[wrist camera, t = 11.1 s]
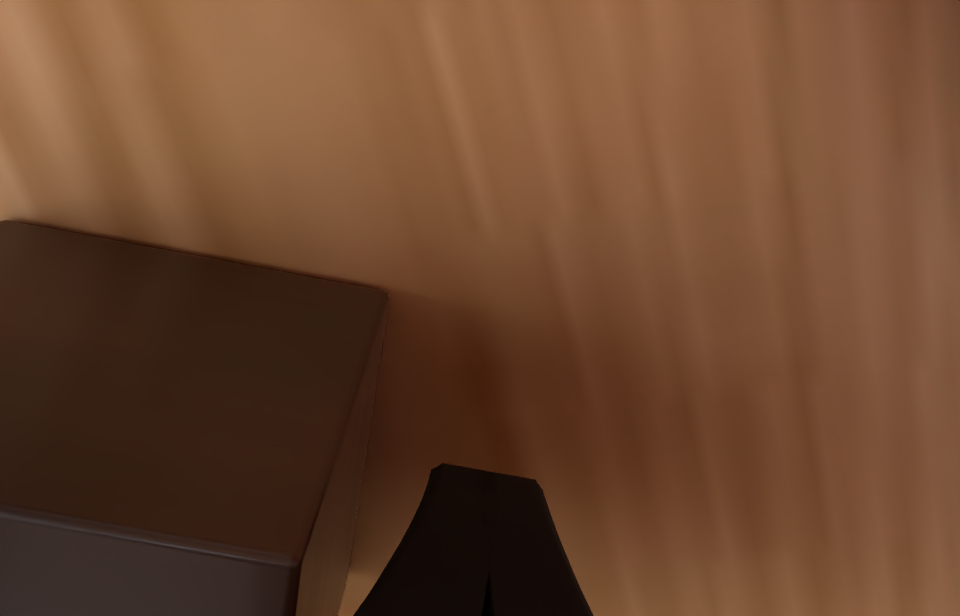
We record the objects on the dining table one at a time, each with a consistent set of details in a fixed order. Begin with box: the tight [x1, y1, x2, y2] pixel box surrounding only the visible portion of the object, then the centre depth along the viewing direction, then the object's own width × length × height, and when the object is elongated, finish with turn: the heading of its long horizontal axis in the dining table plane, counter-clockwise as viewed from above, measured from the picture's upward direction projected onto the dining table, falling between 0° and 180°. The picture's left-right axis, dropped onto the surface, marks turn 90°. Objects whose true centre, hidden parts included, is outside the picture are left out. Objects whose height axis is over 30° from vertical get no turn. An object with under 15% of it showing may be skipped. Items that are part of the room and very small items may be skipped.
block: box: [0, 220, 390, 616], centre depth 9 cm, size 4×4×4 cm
